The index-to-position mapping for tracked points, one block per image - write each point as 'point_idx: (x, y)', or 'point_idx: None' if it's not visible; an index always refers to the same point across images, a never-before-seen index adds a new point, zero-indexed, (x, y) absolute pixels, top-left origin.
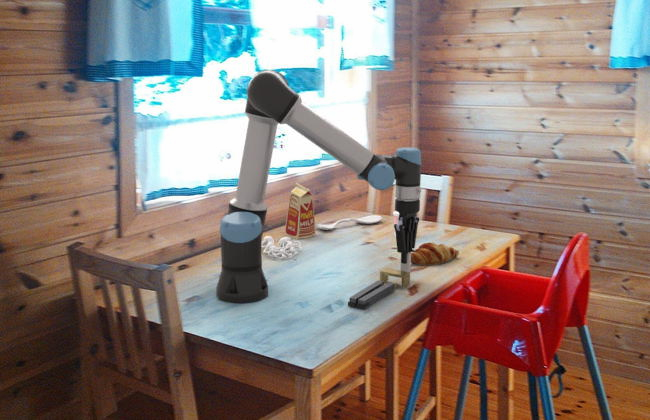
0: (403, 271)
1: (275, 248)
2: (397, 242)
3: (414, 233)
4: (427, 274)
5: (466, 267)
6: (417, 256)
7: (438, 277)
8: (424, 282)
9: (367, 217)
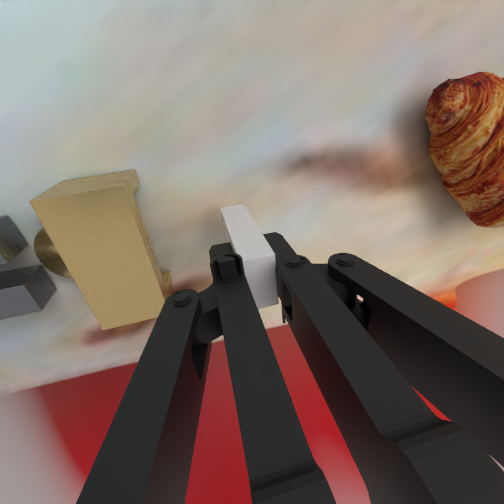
0: (155, 288)
1: None
2: (135, 389)
3: (426, 395)
4: (327, 242)
5: (445, 278)
6: (458, 144)
7: None
8: None
9: None
